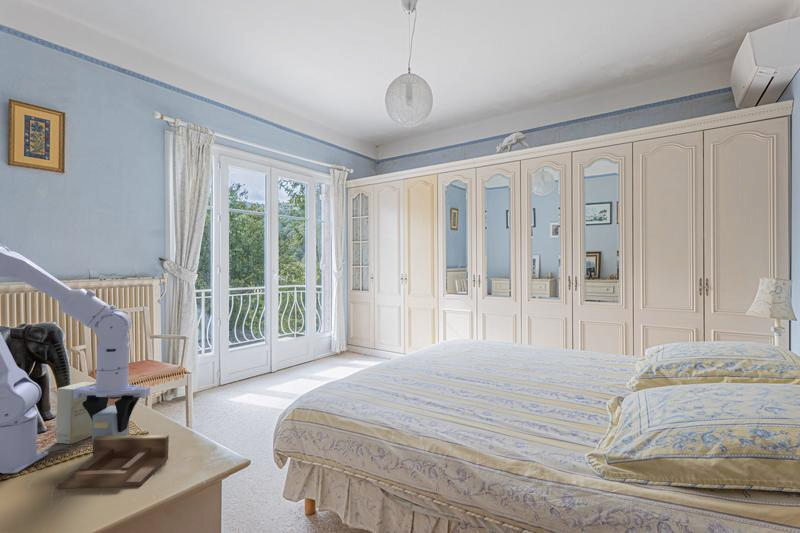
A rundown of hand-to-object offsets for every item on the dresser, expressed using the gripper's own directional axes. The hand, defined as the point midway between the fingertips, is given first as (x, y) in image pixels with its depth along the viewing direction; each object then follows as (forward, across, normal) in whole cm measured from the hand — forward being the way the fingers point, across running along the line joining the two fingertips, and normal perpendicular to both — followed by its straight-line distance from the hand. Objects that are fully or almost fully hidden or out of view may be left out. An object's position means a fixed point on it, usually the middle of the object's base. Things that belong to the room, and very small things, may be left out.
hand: (111, 430), depth 87 cm
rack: (+4, +7, -10) cm, 13 cm away
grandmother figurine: (+4, -8, +15) cm, 18 cm away
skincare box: (+4, -11, +6) cm, 13 cm away
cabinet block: (+2, 0, 0) cm, 2 cm away
